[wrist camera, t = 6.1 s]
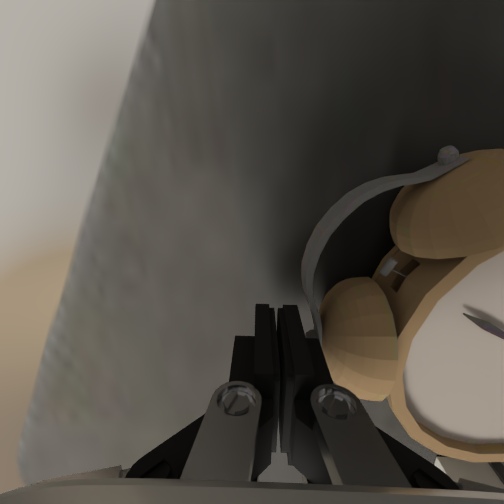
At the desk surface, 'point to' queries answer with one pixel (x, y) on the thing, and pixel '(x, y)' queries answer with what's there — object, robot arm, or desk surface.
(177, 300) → the desk surface
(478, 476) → the board
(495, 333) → the alarm clock
